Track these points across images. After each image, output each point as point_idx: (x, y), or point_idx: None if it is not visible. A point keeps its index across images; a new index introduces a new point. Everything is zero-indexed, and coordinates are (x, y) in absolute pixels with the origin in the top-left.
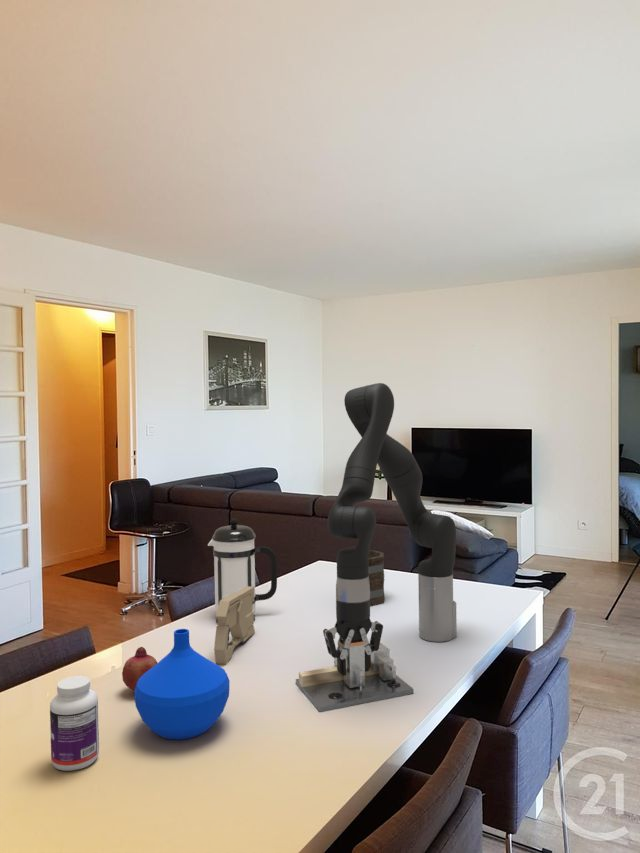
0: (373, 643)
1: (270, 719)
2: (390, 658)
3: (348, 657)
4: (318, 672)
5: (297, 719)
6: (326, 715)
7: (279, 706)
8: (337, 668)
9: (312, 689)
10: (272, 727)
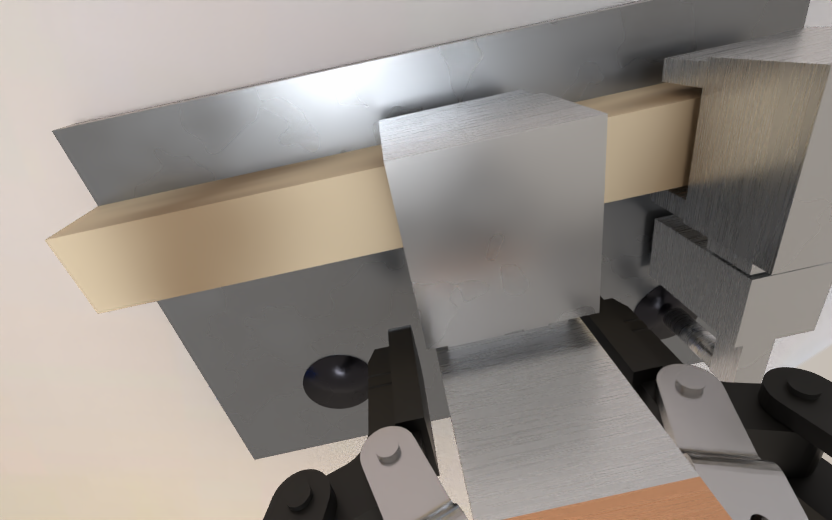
0: (816, 447)
1: (40, 473)
2: (822, 296)
3: (465, 484)
4: (227, 265)
5: (166, 477)
6: (289, 460)
7: (47, 387)
8: (370, 373)
9: (210, 304)
10: (70, 515)
